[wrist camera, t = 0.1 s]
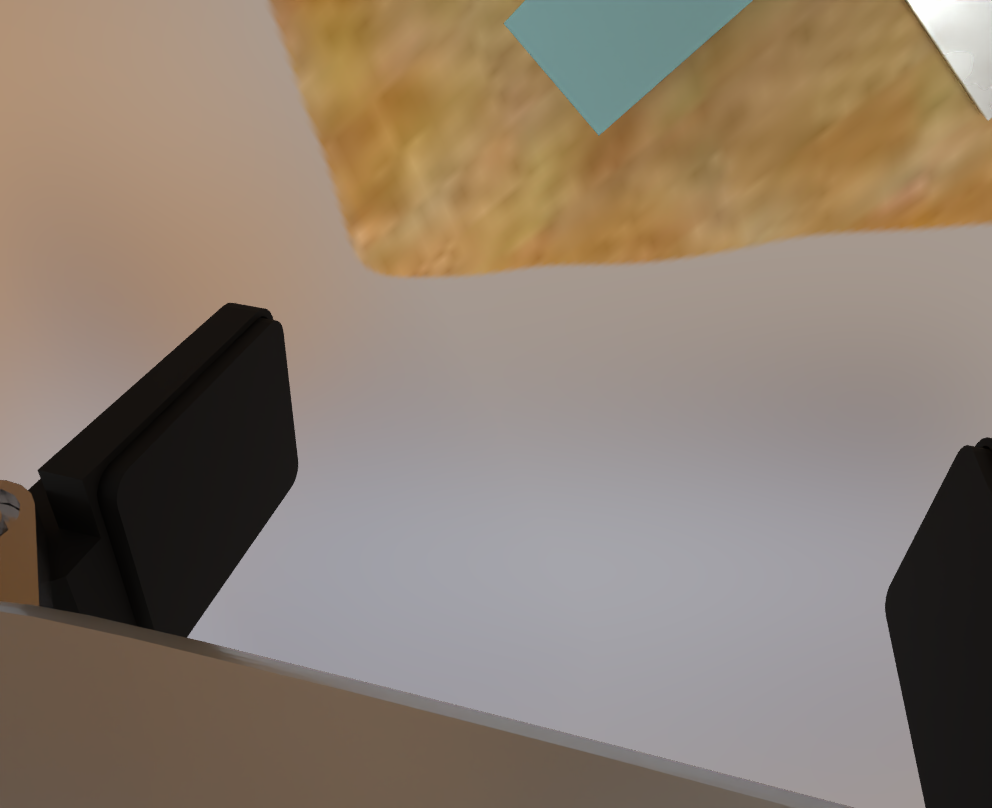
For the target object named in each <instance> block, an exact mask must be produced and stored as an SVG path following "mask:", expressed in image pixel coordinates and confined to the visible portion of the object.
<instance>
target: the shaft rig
mask: <svg viewBox="0 0 992 808" xmlns="http://www.w3.org/2000/svg"><path fill="white" fill-rule="evenodd" d="M905 1H906V3H907V4H908V6H909V7H910V9H911V10H912V12H913V13H914V14H915V16H916V17H917V19H918V20H919V22H920V23H921V25H922V26H923V28H924V29H925V31H926V32H927V34H928V35H929V37H930V38H931V40H932V41H933V43H934V44H935V46H936V47H937V49H938V50H939V52H940V53H941V55H942V56H943V58H944V59H945V61H946V62H947V64H948V65H949V67H950V68H951V70H952V71H953V73H954V74H955V76H956V77H957V79H958V80H959V82H960V83H961V84H962V86H963V87H964V89H965V90H966V92H967V93H968V95H969V96H970V98H971V99H972V101H973V102H974V104H975V105H976V107H977V108H978V110H979V111H980V113H981V114H982V115H983V116H984V117H985V118H986V119H987V120H989V119H991V118H992V0H905Z"/></svg>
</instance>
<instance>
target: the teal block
mask: <svg viewBox="0 0 992 808" xmlns="http://www.w3.org/2000/svg"><path fill="white" fill-rule="evenodd" d="M751 1H753V0H525V1H524V2H523V3H522V4H521V5H520V6H519V8H518V9H517V10H516V11H515V12H514V13H513V14H512V15H511V16H510V17H509V18H508V19H507V20H506V22H505V23H504V24H505V26H506V27H507V28H508V29H509V30H510V32H511V33H512V34H513V35H514V36H515V37H516V39H517V40H518V41H519V42H520V43H521V44H522V46H523V47H524V48H525V49H526V50H527V52H528V53H529V54H530V55H531V56H532V57H533V59H534V60H535V61H536V62H537V63H538V65H539V66H540V67H541V68H542V69H543V70H544V72H545V73H546V74H547V75H548V76H549V78H550V79H551V80H552V81H553V82H554V83H555V85H556V86H557V87H558V88H559V89H560V90H561V92H562V93H563V94H564V95H565V96H566V98H567V99H568V100H569V101H570V102H571V103H572V105H573V106H574V107H575V108H576V109H577V111H578V112H579V113H580V114H581V115H582V116H583V118H584V119H585V120H586V121H587V122H588V123H589V125H590V126H591V127H592V128H593V129H594V131H595V132H596V133H597V134H598V135H600V134H601V133H602V132H604V131H605V130H606V129H607V128H608V127H609V126H610V125H612V124H613V123H614V122H615V121H616V120H617V119H618V118H620V117H621V116H622V115H623V114H624V113H625V112H626V111H627V110H629V109H630V108H631V107H632V106H633V105H634V104H635V103H637V102H638V101H639V100H640V99H641V98H642V97H643V96H645V95H646V94H647V93H648V92H649V91H650V90H651V89H652V88H654V87H655V86H656V85H657V84H658V83H659V82H660V81H662V80H663V79H664V78H665V77H666V76H667V75H668V74H670V73H671V72H672V71H673V70H674V69H675V68H676V67H678V66H679V65H680V64H681V63H682V62H683V61H684V60H685V59H687V58H688V57H689V56H690V55H691V54H692V53H693V52H695V51H696V50H697V49H698V48H699V47H700V46H701V45H703V44H704V43H705V42H706V41H707V40H708V39H709V38H711V37H712V36H713V35H714V34H715V33H716V32H717V31H718V30H720V29H721V28H722V27H723V26H724V25H725V24H726V23H728V22H729V21H730V20H731V19H732V18H733V17H734V16H736V15H737V14H738V13H739V12H740V11H741V10H742V9H744V8H745V7H746V6H747V5H748V4H749V3H750V2H751Z"/></svg>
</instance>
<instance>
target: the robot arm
mask: <svg viewBox="0 0 992 808" xmlns="http://www.w3.org/2000/svg"><path fill="white" fill-rule="evenodd" d="M297 471H298V457H297V448H296V439H295V430H294V421H293V412H292V403H291V395H290V386H289V378H288V368H287V360H286V351H285V342H284V333H283V328H282V325H281V323H280V322H278V321H275V320H273V317H272V315H271V313H270V311H268V310H267V309H264V308H258V307H253V306H247V305H241V304H236V303H227V304H226V305H224V306H223V307H222V308H220V309H219V310H218V311H217V312H216V313H215V314H214V315H212V317H210V318H209V319H208V320H207V321H206V322H205V323H203V324H202V325H201V326H200V327H199V328H198V329H197V330H196V331H195V332H193V333H192V334H191V335H190V336H189V337H188V338H186V339H185V340H184V341H183V342H182V343H181V344H180V345H179V346H177V347H176V348H175V349H174V350H173V351H172V352H171V353H170V354H168V355H167V356H166V357H165V358H164V359H163V360H162V361H161V362H159V363H158V364H157V365H156V366H155V367H154V368H153V369H151V370H150V371H149V372H148V373H147V374H146V375H145V376H144V377H142V378H141V379H140V380H139V381H138V382H137V383H136V384H135V385H133V386H132V387H131V388H130V389H129V390H128V391H127V392H125V393H124V394H123V395H122V396H121V397H120V398H119V399H118V400H116V401H115V402H114V403H113V404H112V405H111V406H110V407H109V408H107V409H106V410H105V411H104V412H103V413H102V414H101V415H99V416H98V417H97V418H96V419H95V420H94V421H93V422H92V423H90V424H89V425H88V426H87V427H86V428H85V429H84V430H82V432H80V433H79V434H78V435H77V436H76V437H75V438H73V439H72V440H71V441H70V442H69V443H68V444H67V445H66V446H64V447H63V448H62V449H61V450H60V451H59V452H58V453H56V454H55V455H54V456H53V457H52V458H51V459H50V460H49V461H48V462H46V463H45V464H44V465H43V466H42V467H41V468H40V469H39V470H38V472H39V475H40V477H41V479H40V480H39V481H38V482H37V483H35V484H34V485H33V486H32V487H31V488H30V489H29V490H27V489H25V488H24V487H23V486H22V485H19V484H16V483H13V482H10V481H7V480H0V808H853V807H850V806H846V805H842V804H838V803H835V802H831V801H826V800H823V799H819V798H815V797H811V796H808V795H804V794H800V793H796V792H792V791H788V790H785V789H780V788H777V787H773V786H769V785H765V784H762V783H758V782H754V781H750V780H746V779H742V778H738V777H734V776H731V775H727V774H723V773H719V772H715V771H712V770H708V769H704V768H700V767H696V766H692V765H688V764H684V763H680V762H677V761H673V760H669V759H665V758H662V757H658V756H654V755H650V754H646V753H642V752H638V751H635V750H630V749H627V748H623V747H619V746H615V745H611V744H607V743H603V742H599V741H595V740H592V739H588V738H584V737H580V736H576V735H572V734H568V733H564V732H560V731H556V730H553V729H549V728H545V727H541V726H537V725H533V724H528V723H525V722H521V721H517V720H513V719H509V718H506V717H501V716H498V715H494V714H490V713H486V712H482V711H478V710H473V709H470V708H466V707H462V706H458V705H454V704H450V703H446V702H442V701H438V700H435V699H431V698H426V697H422V696H418V695H415V694H411V693H407V692H403V691H399V690H395V689H391V688H387V687H383V686H379V685H375V684H371V683H367V682H363V681H359V680H355V679H351V678H347V677H343V676H339V675H335V674H331V673H327V672H323V671H319V670H315V669H311V668H307V667H303V666H298V665H294V664H291V663H287V662H283V661H279V660H275V659H271V658H267V657H263V656H259V655H254V654H251V653H246V652H243V651H239V650H235V649H231V648H226V647H222V646H218V645H214V644H210V643H206V642H202V641H198V640H194V639H190V638H187V636H188V635H189V634H190V632H191V631H192V629H193V628H194V626H195V625H196V623H197V622H198V621H199V619H200V618H201V616H202V615H203V613H204V612H205V611H206V609H207V608H208V606H209V605H210V603H211V602H212V600H213V599H214V598H215V596H216V595H217V593H218V592H219V590H220V589H221V588H222V586H223V584H224V583H225V582H226V580H227V579H228V578H229V576H230V575H231V573H232V572H233V570H234V569H235V567H236V566H237V565H238V563H239V562H240V560H241V559H242V557H243V556H244V554H245V553H246V551H247V550H248V549H249V547H250V546H251V544H252V543H253V542H254V540H255V539H256V537H257V536H258V534H259V533H260V532H261V530H262V529H263V527H264V526H265V524H266V523H267V522H268V520H269V518H270V517H271V516H272V514H273V513H274V511H275V510H276V508H277V507H278V505H279V504H280V503H281V501H282V500H283V499H284V497H285V496H286V494H287V493H288V491H289V490H290V488H291V487H292V485H293V483H294V481H295V479H296V475H297ZM885 612H886V619H887V623H888V628H889V632H890V638H891V642H892V648H893V652H894V657H895V662H896V667H897V672H898V676H899V681H900V686H901V691H902V696H903V700H904V705H905V710H906V715H907V720H908V724H909V729H910V734H911V739H912V744H913V749H914V754H915V758H916V763H917V768H918V773H919V778H920V783H921V787H922V792H923V796H924V802H925V807H926V808H992V438H983V439H981V440H980V442H978V443H977V444H976V446H975V447H974V446H968V445H967V446H964V447H963V448H961V449H960V451H959V452H958V454H957V456H956V458H955V460H954V461H953V463H952V465H951V467H950V469H949V471H948V473H947V475H946V477H945V479H944V481H943V483H942V485H941V487H940V489H939V491H938V493H937V494H936V496H935V498H934V500H933V503H932V504H931V506H930V508H929V510H928V512H927V514H926V516H925V518H924V520H923V522H922V524H921V526H920V528H919V530H918V532H917V534H916V535H915V537H914V540H913V541H912V543H911V545H910V547H909V549H908V551H907V553H906V555H905V557H904V559H903V561H902V563H901V565H900V567H899V569H898V571H897V573H896V574H895V576H894V578H893V581H892V582H891V584H890V586H889V589H888V592H887V596H886V603H885Z"/></svg>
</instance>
